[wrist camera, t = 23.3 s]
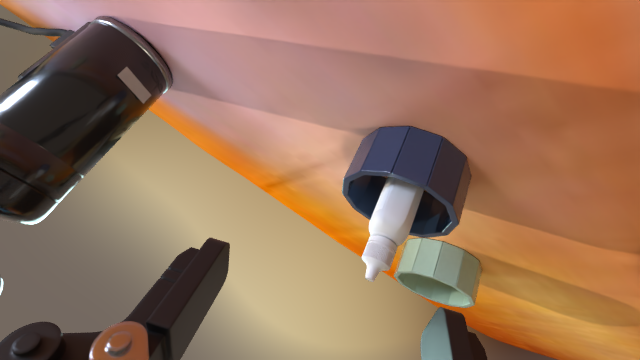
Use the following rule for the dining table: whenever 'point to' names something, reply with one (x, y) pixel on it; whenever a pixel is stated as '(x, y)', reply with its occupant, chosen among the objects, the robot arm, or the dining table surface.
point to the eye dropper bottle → (390, 224)
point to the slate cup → (411, 176)
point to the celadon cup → (439, 272)
